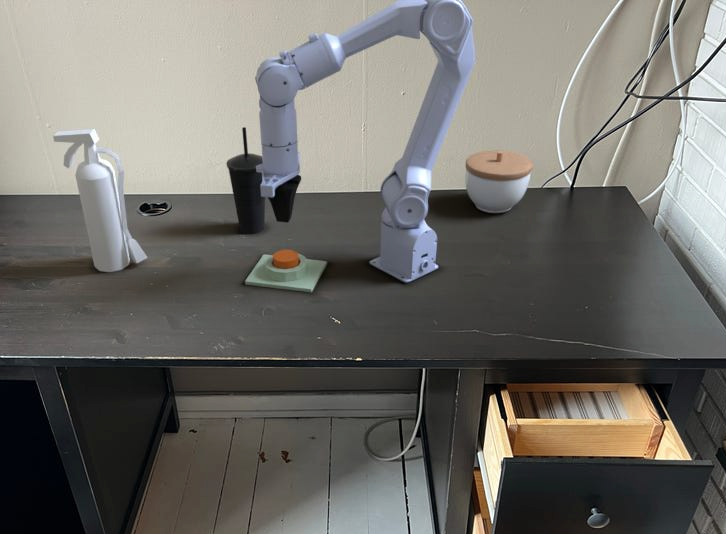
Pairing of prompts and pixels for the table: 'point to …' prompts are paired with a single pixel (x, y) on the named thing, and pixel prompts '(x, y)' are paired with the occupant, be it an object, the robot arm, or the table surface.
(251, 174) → the drinking cup
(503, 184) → the lidded bowl
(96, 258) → the fire extinguisher
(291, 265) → the button
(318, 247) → the table surface
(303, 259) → the button block
